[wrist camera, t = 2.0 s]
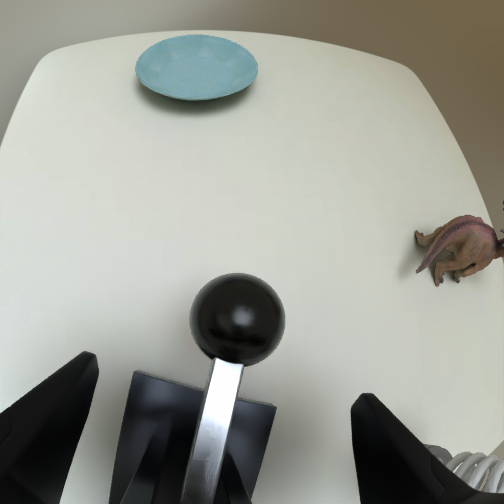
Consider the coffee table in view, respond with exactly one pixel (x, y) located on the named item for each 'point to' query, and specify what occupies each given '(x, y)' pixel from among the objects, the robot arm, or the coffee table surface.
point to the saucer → (196, 67)
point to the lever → (226, 366)
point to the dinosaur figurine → (461, 247)
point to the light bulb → (473, 468)
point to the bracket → (182, 444)
